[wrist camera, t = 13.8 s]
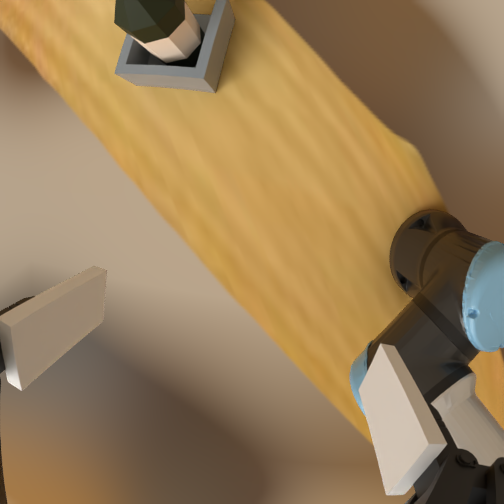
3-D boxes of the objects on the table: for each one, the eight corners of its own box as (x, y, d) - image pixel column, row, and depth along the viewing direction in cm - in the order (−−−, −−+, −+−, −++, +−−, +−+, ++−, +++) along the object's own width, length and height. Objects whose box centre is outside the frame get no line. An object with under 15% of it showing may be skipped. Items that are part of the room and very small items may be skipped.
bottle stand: (215, 93, 45) (203, 78, 37) (136, 85, 46) (114, 73, 38) (235, 19, 42) (227, -4, 34) (157, 16, 42) (140, -4, 35)
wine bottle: (169, 25, 42) (77, -75, 13) (215, 31, 42) (149, -89, 13) (152, 67, 44) (36, -12, 15) (198, 74, 44) (105, -24, 15)
